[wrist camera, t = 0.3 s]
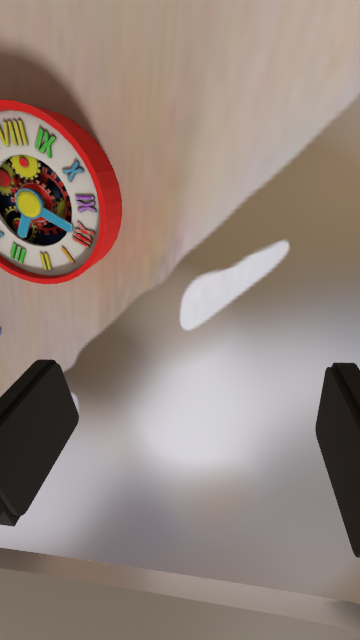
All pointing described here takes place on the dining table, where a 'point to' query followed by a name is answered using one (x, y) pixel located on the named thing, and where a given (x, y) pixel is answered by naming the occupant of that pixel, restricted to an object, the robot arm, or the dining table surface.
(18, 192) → the toy clock
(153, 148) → the dining table surface
